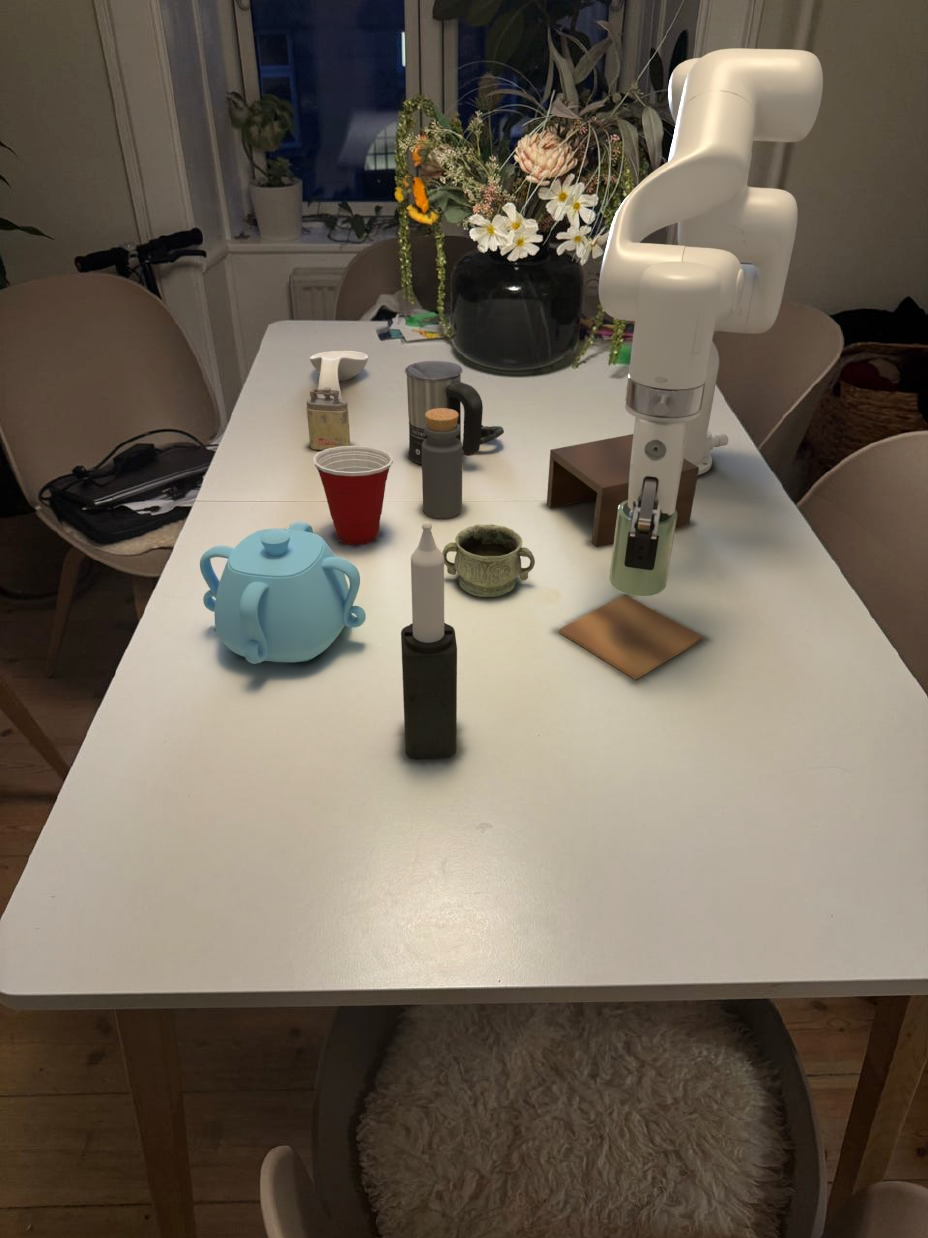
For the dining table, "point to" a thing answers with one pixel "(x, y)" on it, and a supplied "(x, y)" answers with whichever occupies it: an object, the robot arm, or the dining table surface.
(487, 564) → the vessel
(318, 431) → the lighter
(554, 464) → the shelf
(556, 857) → the dining table surface
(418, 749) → the candle
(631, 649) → the coaster
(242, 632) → the decorative pot
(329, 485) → the plastic cup
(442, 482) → the bottle
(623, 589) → the tumbler
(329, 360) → the spoon rest
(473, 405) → the milk frother
